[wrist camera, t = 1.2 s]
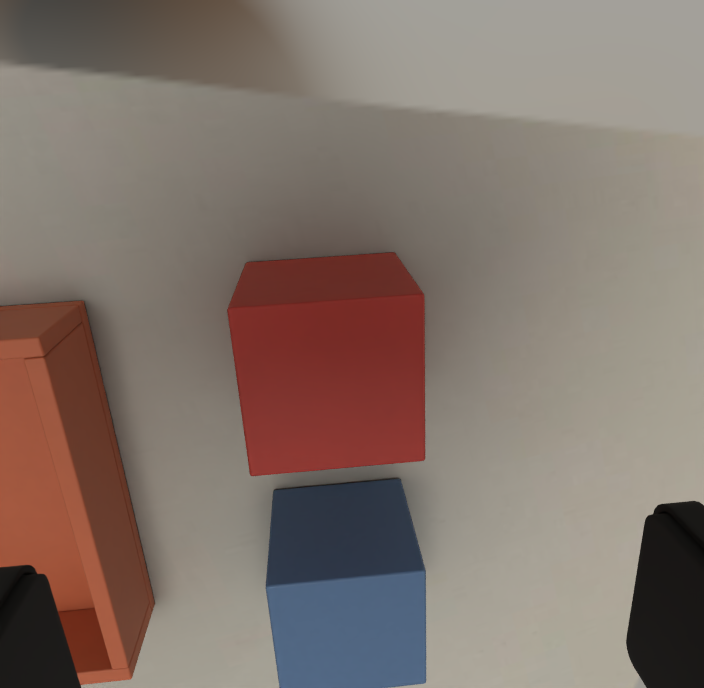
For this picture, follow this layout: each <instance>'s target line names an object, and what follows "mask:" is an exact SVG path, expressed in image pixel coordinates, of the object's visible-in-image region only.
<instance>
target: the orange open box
mask: <svg viewBox="0 0 704 688" xmlns="http://www.w3.org/2000/svg"><path fill="white" fill-rule="evenodd" d="M19 565H31V566H33V567H34V568H35V570H36V572H37V574H45V575H46V576H47V578H48V581H49V584H50V587H51V590H52V594H53V597H54V600H55V604H56V607H57V610H58V613H59V617H60V620H61V623H62V626H63V630H64V633H65V636H66V639H67V643H68V646H69V649H70V653H71V656H72V659H73V662H74V666H75V669H76V672H77V675H78V679H79V682H80V685H83V684H92V683H102V682H111V681H120V680H129V679H131V678H132V676H133V673H134V669H135V666H136V663H137V660H138V656H139V653H140V650H141V647H142V643H143V640H144V637H145V633H146V630H147V627H148V624H149V620H150V617H151V614H152V613H151V612H152V611H153V608H154V605H155V602H154V598H153V594H152V590H151V585H150V581H149V577H148V573H147V568H146V564H145V560H144V556H143V551H142V547H141V543H140V539H139V534H138V530H137V526H136V521H135V517H134V513H133V509H132V504H131V500H130V496H129V492H128V487H127V483H126V479H125V475H124V470H123V466H122V462H121V458H120V453H119V449H118V445H117V441H116V436H115V432H114V428H113V424H112V419H111V415H110V411H109V407H108V402H107V398H106V394H105V390H104V385H103V381H102V377H101V373H100V368H99V364H98V360H97V356H96V351H95V347H94V343H93V338H92V334H91V330H90V326H89V321H88V317H87V313H86V309H85V304H84V301H70V302H56V303H42V304H28V305H14V306H0V567H9V566H19Z"/></svg>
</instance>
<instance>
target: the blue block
mask: <svg viewBox="0 0 704 688" xmlns="http://www.w3.org/2000/svg"><path fill="white" fill-rule="evenodd" d="M266 593H267V600H268V607H269V614H270V621H271V629H272V636H273V643H274V650H275V658H276V665H277V672H278V679H279V686H280V688H388V687H397V686H406V685H415V684H424V683H426V570H425V567H424V563H423V560H422V556H421V552H420V549H419V545H418V541H417V538H416V534H415V530H414V527H413V523H412V519H411V516H410V512H409V508H408V505H407V501H406V497H405V494H404V490H403V486H402V483H401V480H400V479H391V480H380V481H369V482H358V483H347V484H336V485H325V486H314V487H303V488H292V489H281V490H274V492H273V501H272V514H271V527H270V539H269V552H268V565H267V577H266Z"/></svg>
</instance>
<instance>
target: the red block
mask: <svg viewBox="0 0 704 688" xmlns="http://www.w3.org/2000/svg"><path fill="white" fill-rule="evenodd" d="M227 312H228V319H229V326H230V333H231V341H232V348H233V355H234V362H235V370H236V377H237V384H238V391H239V398H240V406H241V413H242V420H243V427H244V434H245V442H246V449H247V456H248V463H249V470H250V475H251V476H259V475H271V474H282V473H293V472H304V471H315V470H326V469H337V468H349V467H360V466H371V465H382V464H393V463H404V462H415V461H424V460H425V301H424V294H423V292H422V291H421V289H420V288H419V287H418V285H417V284H416V282H415V281H414V279H413V278H412V277H411V275H410V274H409V272H408V271H407V269H406V268H405V267H404V265H403V264H402V262H401V261H400V259H399V258H398V257H397V255H396V254H395V253H394V252H391V253H376V254H362V255H347V256H333V257H318V258H304V259H289V260H275V261H260V262H247V263H246V264H245V266H244V269H243V271H242V274H241V276H240V279H239V281H238V284H237V286H236V289H235V291H234V294H233V297H232V299H231V302H230V304H229V307H228V309H227Z"/></svg>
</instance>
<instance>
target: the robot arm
mask: <svg viewBox="0 0 704 688" xmlns="http://www.w3.org/2000/svg"><path fill="white" fill-rule="evenodd" d="M626 644H627V650H628V654H629V657H630V660H631V662H632V664H633V666H634V668H635V669H636V671H637V673H638V674H639V676H640V678H641V679H642V681H643V682H644V684H645V685H646V687H647V688H704V505H703V504H701V503H700V502H696V501H689V502H678V503H668V504H661V505H658V506H657V507H656V508H655V510H654V513H653V515H648V517H647V518H646V520H645V524H644V530H643V537H642V543H641V550H640V556H639V562H638V569H637V575H636V581H635V588H634V594H633V601H632V607H631V613H630V620H629V626H628V632H627V640H626ZM0 688H81V685H80V682H79V679H78V675H77V672H76V669H75V666H74V662H73V659H72V656H71V653H70V649H69V646H68V643H67V639H66V636H65V633H64V630H63V626H62V623H61V620H60V617H59V613H58V610H57V607H56V604H55V600H54V597H53V594H52V590H51V587H50V584H49V581H48V578H47V576H46V575H45V574H37V572H36V570H35V568H34V567H33V566H31V565H19V566H9V567H0Z"/></svg>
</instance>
